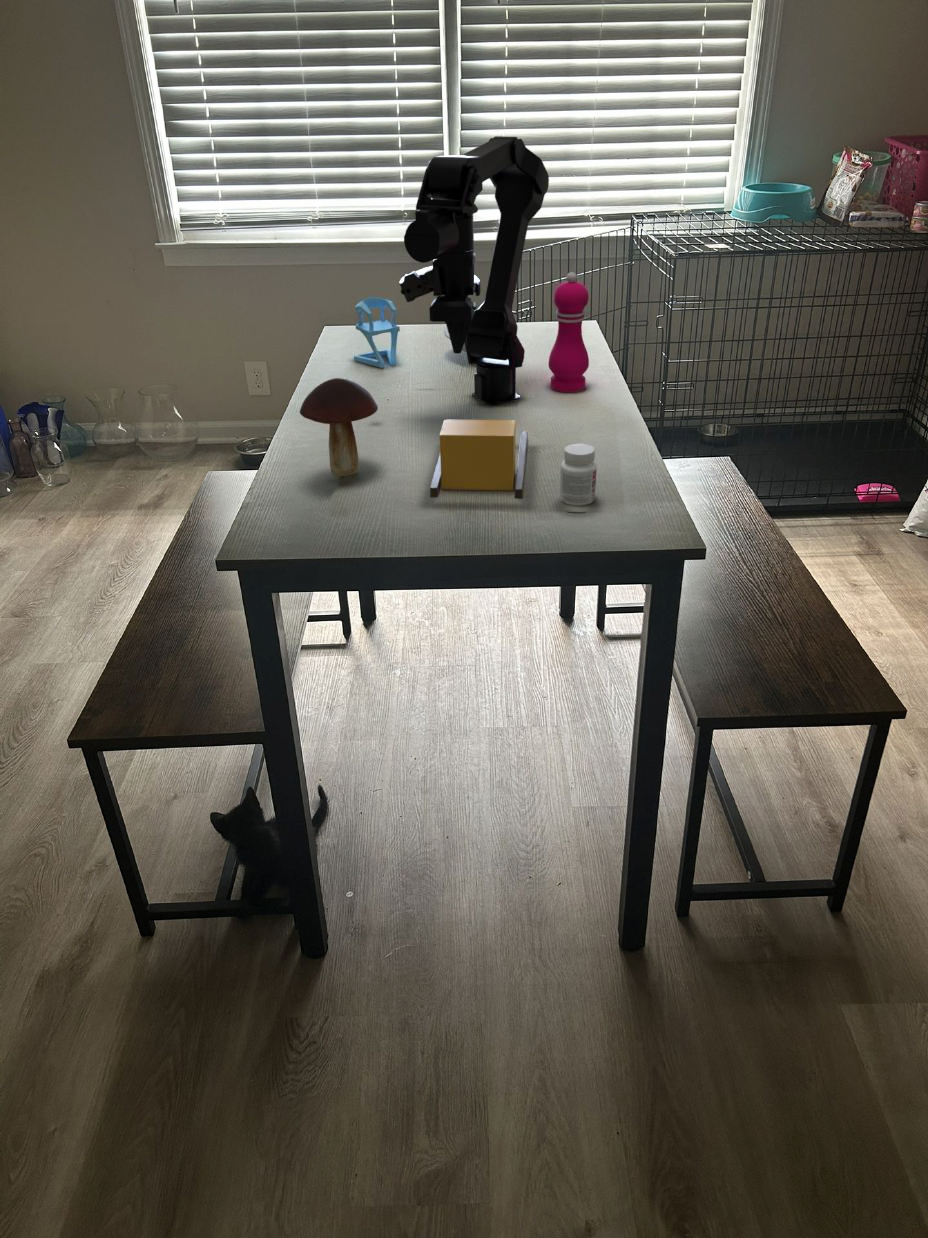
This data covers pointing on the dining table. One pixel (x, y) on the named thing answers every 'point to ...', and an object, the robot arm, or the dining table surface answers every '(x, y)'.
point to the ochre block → (478, 454)
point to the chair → (377, 331)
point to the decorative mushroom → (340, 419)
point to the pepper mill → (569, 337)
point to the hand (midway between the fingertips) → (457, 352)
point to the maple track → (519, 477)
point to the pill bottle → (578, 475)
